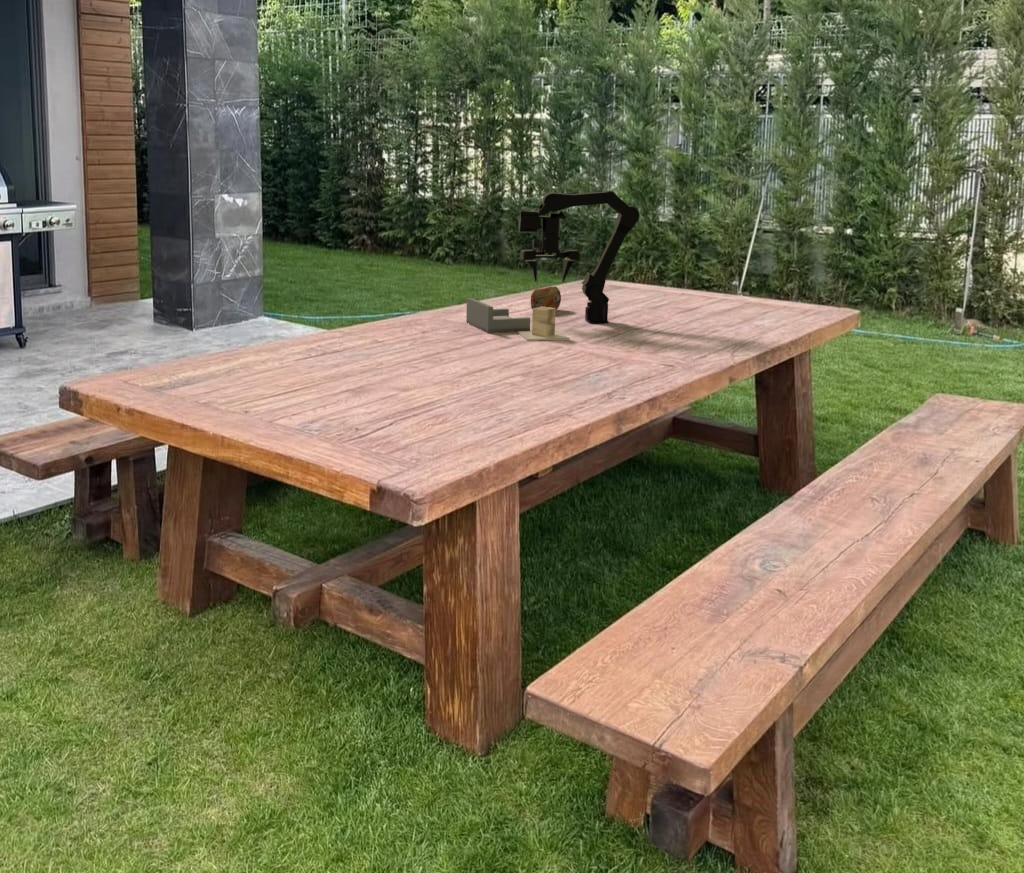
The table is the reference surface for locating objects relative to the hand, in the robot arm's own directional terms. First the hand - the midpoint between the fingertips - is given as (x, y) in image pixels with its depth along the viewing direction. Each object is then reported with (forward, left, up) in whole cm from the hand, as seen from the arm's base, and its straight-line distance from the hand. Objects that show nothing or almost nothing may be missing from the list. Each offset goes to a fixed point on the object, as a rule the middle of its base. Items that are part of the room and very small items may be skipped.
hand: (549, 281), depth 358 cm
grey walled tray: (+18, +8, -13) cm, 24 cm away
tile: (+8, +26, -13) cm, 30 cm away
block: (+8, +26, -12) cm, 30 cm away
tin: (-4, -20, -13) cm, 24 cm away
